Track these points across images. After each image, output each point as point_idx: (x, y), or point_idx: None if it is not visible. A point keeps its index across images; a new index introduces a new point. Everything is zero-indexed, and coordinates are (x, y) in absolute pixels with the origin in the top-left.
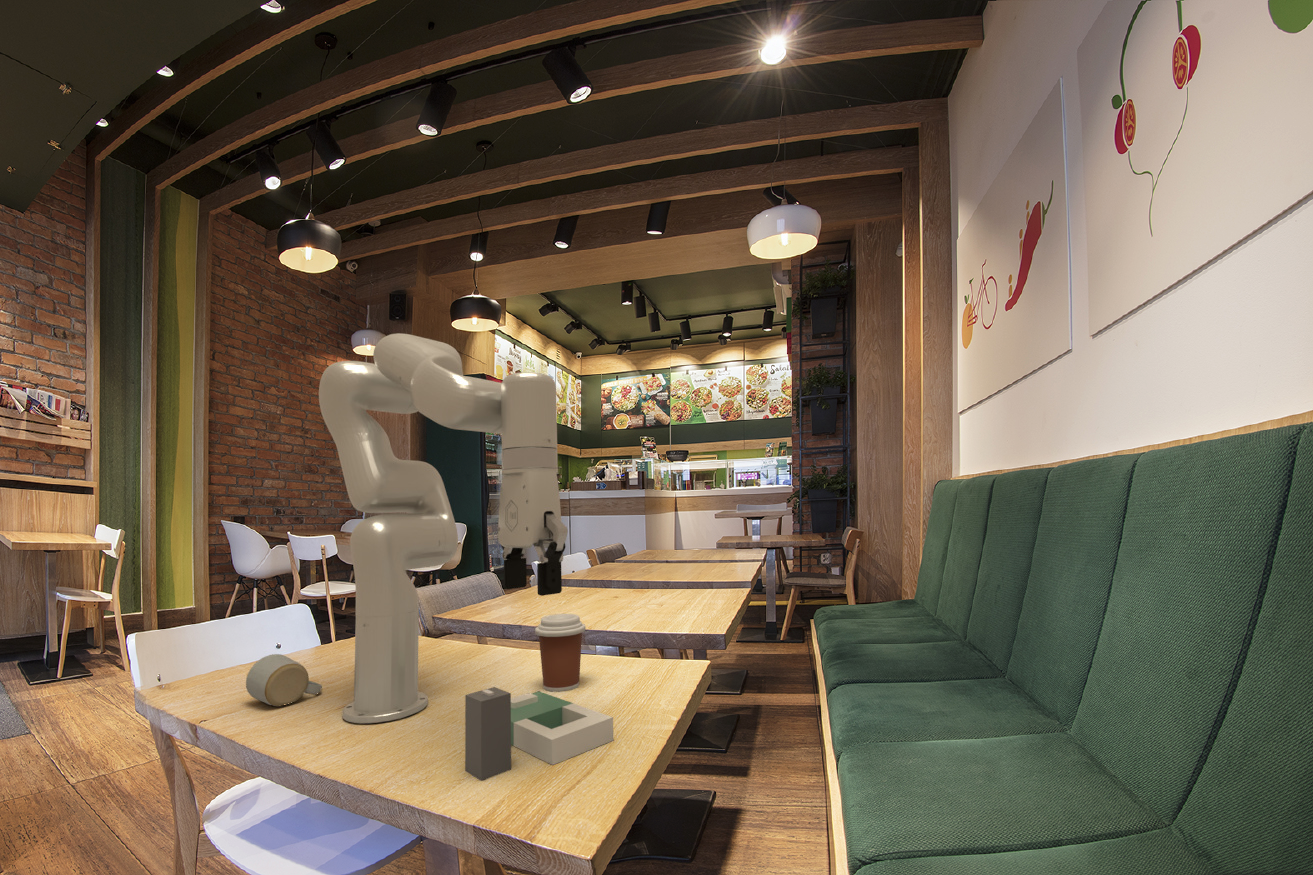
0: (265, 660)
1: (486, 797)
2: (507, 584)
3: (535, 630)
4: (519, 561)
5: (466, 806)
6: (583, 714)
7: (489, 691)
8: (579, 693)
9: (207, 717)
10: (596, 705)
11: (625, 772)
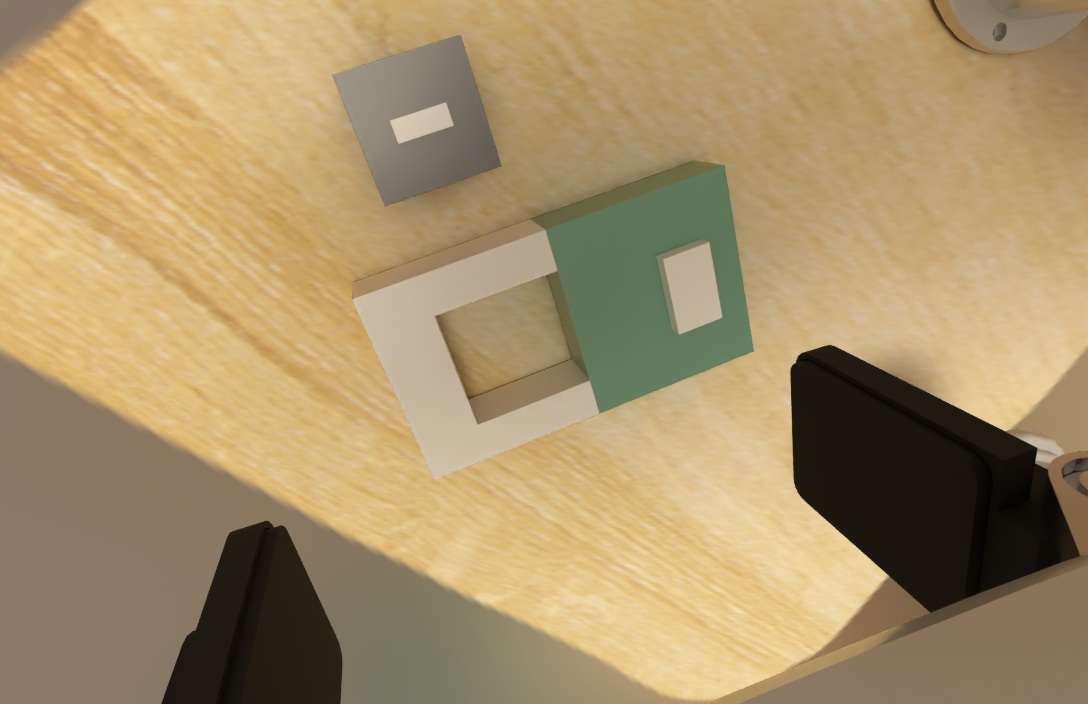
0: None
1: (229, 76)
2: (811, 373)
3: (1027, 435)
4: (951, 572)
5: (194, 11)
6: (498, 418)
7: (420, 129)
8: (774, 450)
9: None
10: (670, 467)
11: (227, 427)
